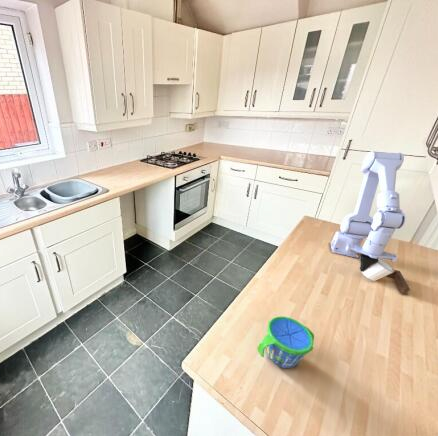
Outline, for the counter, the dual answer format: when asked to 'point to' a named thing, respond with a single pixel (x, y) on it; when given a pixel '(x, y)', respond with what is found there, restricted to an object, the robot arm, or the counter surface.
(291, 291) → the counter surface
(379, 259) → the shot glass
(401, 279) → the corner guard
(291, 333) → the snack cup
